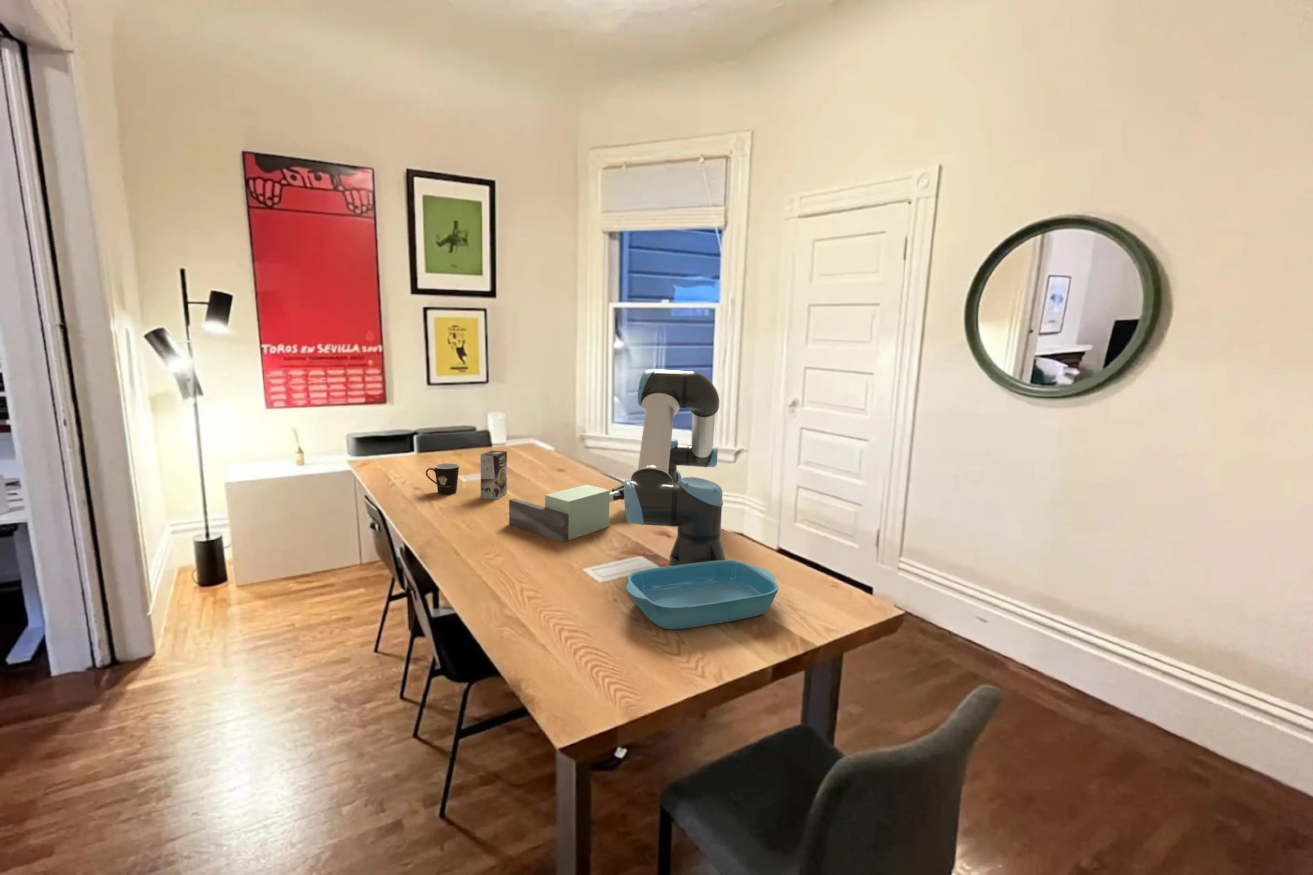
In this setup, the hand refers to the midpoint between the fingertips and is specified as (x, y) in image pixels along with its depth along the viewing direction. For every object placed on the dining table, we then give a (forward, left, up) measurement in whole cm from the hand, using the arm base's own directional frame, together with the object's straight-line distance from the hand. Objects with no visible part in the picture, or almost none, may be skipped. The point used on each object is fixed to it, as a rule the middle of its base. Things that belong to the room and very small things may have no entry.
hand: (604, 499), depth 206 cm
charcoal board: (-19, +14, -7) cm, 25 cm away
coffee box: (+10, +47, -7) cm, 49 cm away
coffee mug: (+7, +66, -7) cm, 67 cm away
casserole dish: (-50, -45, -8) cm, 68 cm away
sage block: (-12, +4, -7) cm, 14 cm away
